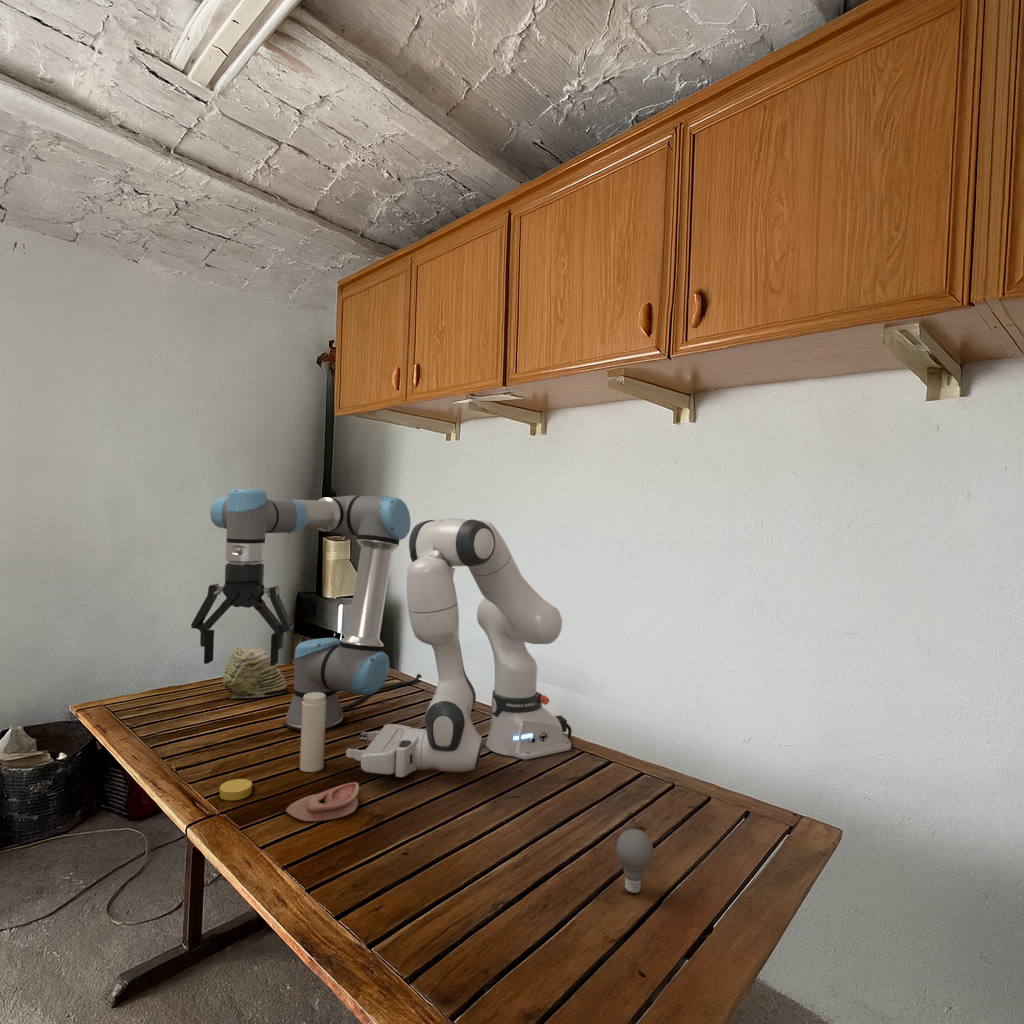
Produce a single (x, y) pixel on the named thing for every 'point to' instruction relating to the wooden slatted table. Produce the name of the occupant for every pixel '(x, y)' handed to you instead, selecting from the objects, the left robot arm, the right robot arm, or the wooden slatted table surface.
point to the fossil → (252, 674)
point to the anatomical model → (326, 804)
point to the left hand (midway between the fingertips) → (241, 663)
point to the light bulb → (634, 857)
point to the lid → (235, 789)
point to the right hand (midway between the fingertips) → (353, 744)
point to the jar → (313, 732)
